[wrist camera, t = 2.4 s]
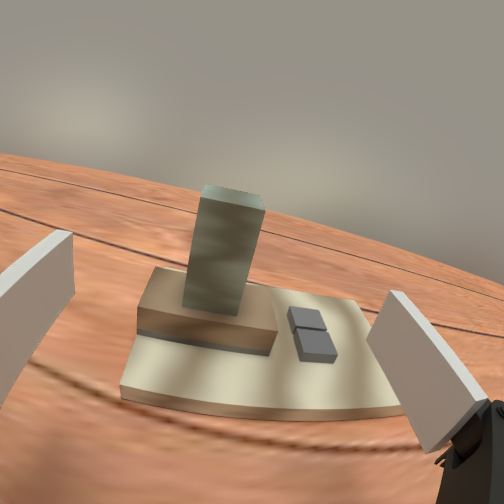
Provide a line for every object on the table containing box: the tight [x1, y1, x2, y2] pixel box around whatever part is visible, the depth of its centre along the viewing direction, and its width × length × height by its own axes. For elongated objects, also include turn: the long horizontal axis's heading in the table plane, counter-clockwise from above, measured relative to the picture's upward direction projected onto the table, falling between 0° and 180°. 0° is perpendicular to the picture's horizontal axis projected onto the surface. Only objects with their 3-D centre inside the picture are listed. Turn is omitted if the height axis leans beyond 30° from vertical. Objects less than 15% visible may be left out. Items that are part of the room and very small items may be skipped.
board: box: [120, 267, 405, 421], centre depth 25 cm, size 22×16×2 cm
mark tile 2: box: [287, 306, 327, 334], centre depth 26 cm, size 3×3×1 cm
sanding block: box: [137, 184, 278, 357], centre depth 22 cm, size 10×6×11 cm, turn 94°
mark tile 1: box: [293, 328, 338, 364], centre depth 23 cm, size 3×3×1 cm
